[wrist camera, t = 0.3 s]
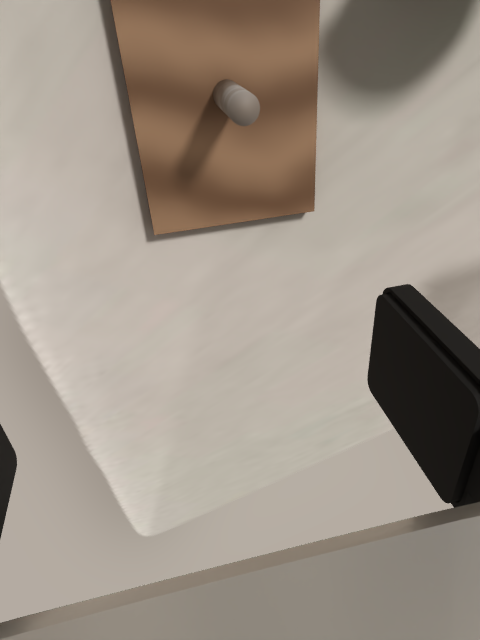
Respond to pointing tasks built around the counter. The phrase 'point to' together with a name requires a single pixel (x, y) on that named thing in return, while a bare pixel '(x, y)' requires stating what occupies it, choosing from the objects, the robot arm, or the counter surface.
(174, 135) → the shaft stand
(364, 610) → the robot arm
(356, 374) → the counter surface
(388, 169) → the counter surface
